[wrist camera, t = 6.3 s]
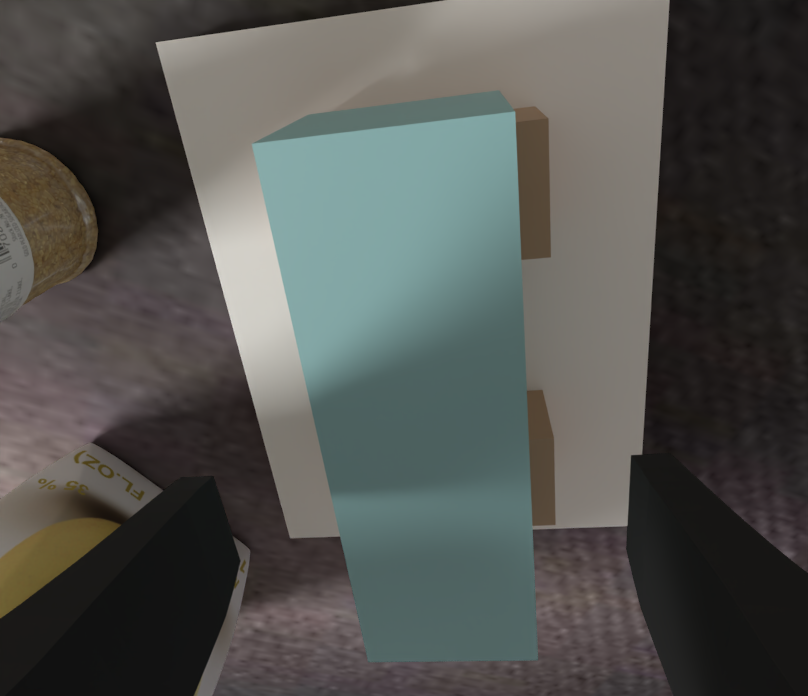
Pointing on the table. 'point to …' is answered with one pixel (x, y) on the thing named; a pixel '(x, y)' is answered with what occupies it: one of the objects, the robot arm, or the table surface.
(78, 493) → the juice carton
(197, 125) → the display stand
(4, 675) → the robot arm
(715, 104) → the table surface
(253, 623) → the table surface
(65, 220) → the sprinkles bottle
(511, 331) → the teal bar
